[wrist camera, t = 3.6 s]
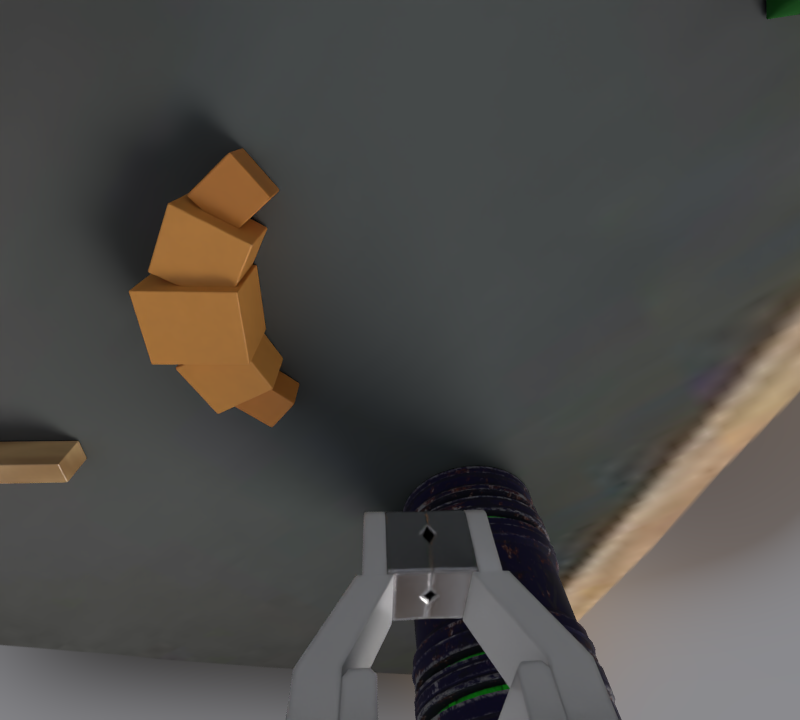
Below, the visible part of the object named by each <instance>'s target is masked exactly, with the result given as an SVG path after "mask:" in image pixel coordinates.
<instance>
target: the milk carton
mask: <svg viewBox="0 0 800 720" xmlns="http://www.w3.org/2000/svg"><path fill="white" fill-rule="evenodd" d="M766 6H767V16H766V18H767V19H771V18H778V17H784V16H791V15H798V14H800V0H766Z"/></svg>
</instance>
